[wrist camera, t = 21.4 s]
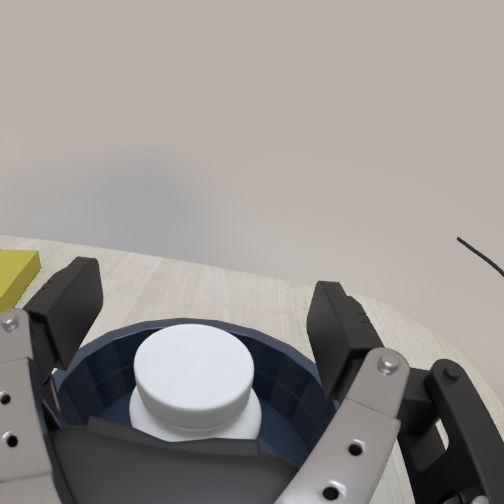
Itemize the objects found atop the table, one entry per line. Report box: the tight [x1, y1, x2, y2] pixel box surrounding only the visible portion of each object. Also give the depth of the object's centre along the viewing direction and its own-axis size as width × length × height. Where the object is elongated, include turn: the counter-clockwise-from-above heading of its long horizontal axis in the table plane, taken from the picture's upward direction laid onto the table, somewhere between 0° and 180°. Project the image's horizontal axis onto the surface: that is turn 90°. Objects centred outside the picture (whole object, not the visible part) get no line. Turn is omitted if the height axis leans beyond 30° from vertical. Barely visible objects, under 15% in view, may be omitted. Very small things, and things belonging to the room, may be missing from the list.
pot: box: [53, 318, 340, 467], centre depth 12 cm, size 15×15×6 cm
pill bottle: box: [129, 324, 261, 442], centre depth 11 cm, size 5×5×9 cm
